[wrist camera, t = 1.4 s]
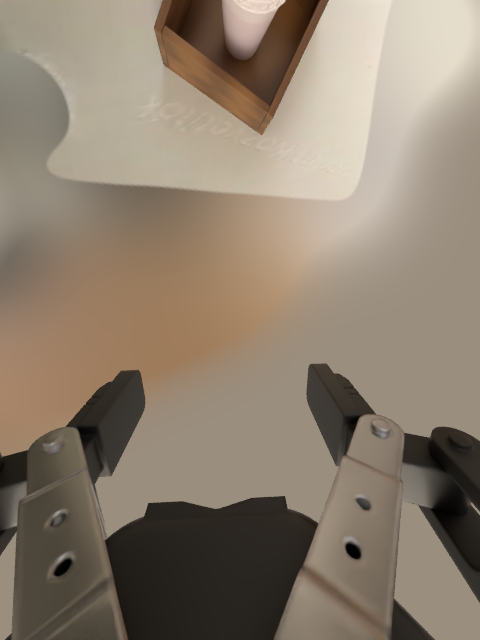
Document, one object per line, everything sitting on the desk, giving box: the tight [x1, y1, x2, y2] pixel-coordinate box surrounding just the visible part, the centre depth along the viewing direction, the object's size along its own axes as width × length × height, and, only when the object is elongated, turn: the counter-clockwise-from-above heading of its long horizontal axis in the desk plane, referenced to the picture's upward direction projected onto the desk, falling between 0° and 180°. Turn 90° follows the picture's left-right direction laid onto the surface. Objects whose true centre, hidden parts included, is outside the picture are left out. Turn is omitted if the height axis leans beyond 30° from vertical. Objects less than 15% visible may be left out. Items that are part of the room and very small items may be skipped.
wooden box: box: [154, 0, 329, 135], centre depth 24 cm, size 12×12×5 cm
